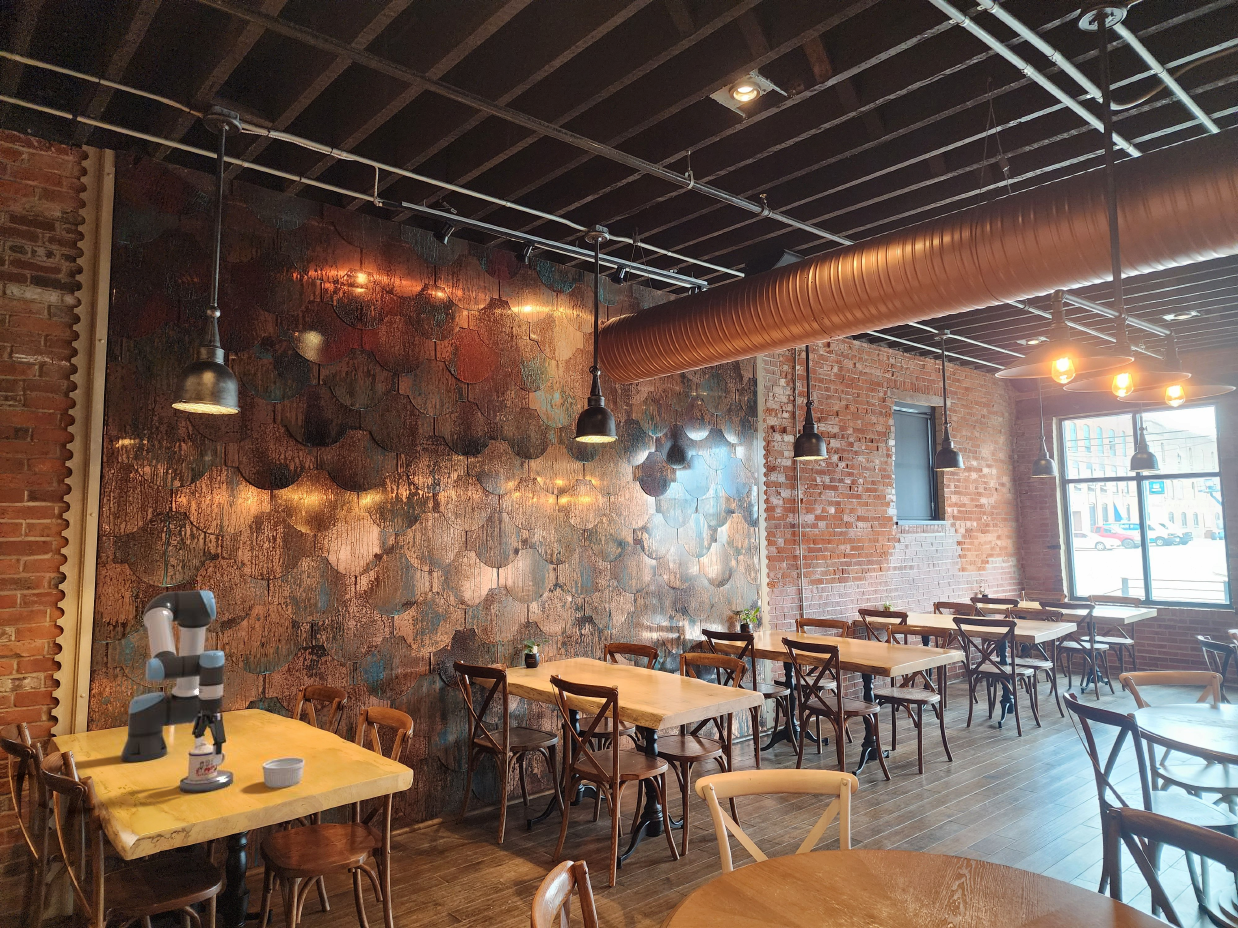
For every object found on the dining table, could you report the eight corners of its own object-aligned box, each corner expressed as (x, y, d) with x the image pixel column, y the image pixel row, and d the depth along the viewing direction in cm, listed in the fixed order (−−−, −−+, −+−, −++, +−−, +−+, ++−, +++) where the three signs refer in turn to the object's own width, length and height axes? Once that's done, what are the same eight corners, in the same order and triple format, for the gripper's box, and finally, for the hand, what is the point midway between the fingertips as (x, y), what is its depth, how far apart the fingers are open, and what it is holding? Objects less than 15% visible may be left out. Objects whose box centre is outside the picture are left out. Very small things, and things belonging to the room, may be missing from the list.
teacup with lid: (195, 783, 249) (197, 746, 251) (181, 778, 255) (183, 742, 256) (231, 773, 259) (232, 738, 260) (217, 769, 264) (219, 735, 266)
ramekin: (292, 774, 268) (293, 754, 268) (311, 781, 259) (312, 761, 260) (255, 784, 257) (255, 763, 258) (273, 792, 249) (274, 770, 250)
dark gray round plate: (171, 786, 255) (171, 777, 256) (220, 774, 268) (220, 766, 268) (192, 796, 245) (192, 786, 246) (241, 783, 258) (241, 774, 258)
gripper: (183, 694, 264) (180, 756, 262) (215, 703, 249) (212, 769, 247) (205, 690, 270) (202, 751, 268) (238, 699, 255) (236, 764, 253)
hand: (207, 760), depth 258 cm, fingers open, 13 cm apart
